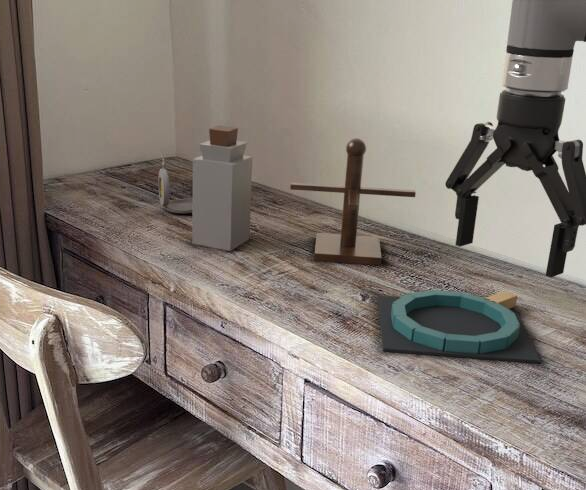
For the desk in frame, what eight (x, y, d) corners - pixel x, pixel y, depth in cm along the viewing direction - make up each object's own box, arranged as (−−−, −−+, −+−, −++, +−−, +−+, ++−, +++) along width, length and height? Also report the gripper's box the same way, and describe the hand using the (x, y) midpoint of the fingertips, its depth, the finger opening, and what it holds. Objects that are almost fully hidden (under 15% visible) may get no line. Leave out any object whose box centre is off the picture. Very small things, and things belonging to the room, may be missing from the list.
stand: (403, 237, 135) (415, 129, 128) (412, 278, 117) (427, 156, 111) (290, 229, 136) (296, 122, 130) (283, 268, 119) (289, 148, 112)
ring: (513, 302, 109) (515, 291, 109) (541, 359, 94) (544, 346, 93) (387, 293, 111) (389, 282, 110) (395, 347, 95) (396, 335, 95)
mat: (513, 308, 108) (513, 305, 108) (540, 363, 94) (540, 360, 93) (377, 298, 110) (377, 295, 110) (382, 351, 95) (383, 348, 95)
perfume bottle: (212, 231, 134) (214, 122, 127) (249, 238, 131) (253, 127, 124) (192, 243, 128) (193, 129, 121) (230, 251, 125) (233, 134, 119)
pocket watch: (210, 210, 145) (211, 155, 141) (175, 220, 139) (175, 162, 135) (178, 200, 150) (178, 147, 146) (143, 209, 144) (142, 153, 140)
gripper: (430, 79, 103) (413, 237, 111) (616, 110, 86) (580, 295, 93) (466, 76, 108) (447, 228, 116) (651, 104, 90) (613, 281, 98)
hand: (507, 258), depth 105 cm, fingers open, 13 cm apart
